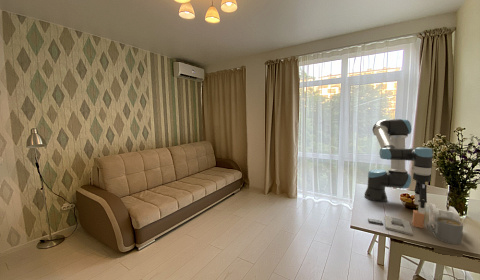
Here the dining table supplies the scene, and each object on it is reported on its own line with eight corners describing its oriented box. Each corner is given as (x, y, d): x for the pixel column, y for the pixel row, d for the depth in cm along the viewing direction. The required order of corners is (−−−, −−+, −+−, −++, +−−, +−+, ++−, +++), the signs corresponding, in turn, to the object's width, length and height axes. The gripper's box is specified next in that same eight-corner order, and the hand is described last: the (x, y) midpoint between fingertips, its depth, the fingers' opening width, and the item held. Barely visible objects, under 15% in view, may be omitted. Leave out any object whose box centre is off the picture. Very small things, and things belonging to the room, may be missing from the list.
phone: (367, 219, 122) (367, 218, 122) (381, 222, 119) (381, 220, 119) (368, 222, 119) (368, 220, 119) (382, 225, 116) (382, 223, 116)
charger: (412, 222, 118) (413, 209, 117) (421, 224, 116) (422, 211, 115) (413, 226, 115) (414, 212, 114) (423, 228, 112) (424, 214, 111)
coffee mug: (457, 236, 104) (459, 219, 103) (464, 246, 96) (466, 228, 95) (423, 229, 111) (425, 212, 110) (427, 237, 103) (429, 220, 102)
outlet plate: (384, 217, 125) (384, 215, 125) (408, 222, 118) (408, 220, 118) (385, 228, 112) (385, 226, 112) (412, 235, 105) (412, 233, 105)
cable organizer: (459, 236, 104) (461, 216, 103) (432, 229, 111) (433, 210, 109) (451, 224, 116) (453, 205, 115) (427, 218, 122) (428, 201, 121)
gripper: (410, 168, 124) (408, 200, 126) (417, 177, 104) (414, 214, 106) (426, 170, 120) (423, 202, 122) (436, 180, 100) (433, 218, 101)
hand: (419, 208), depth 114 cm, fingers open, 13 cm apart
